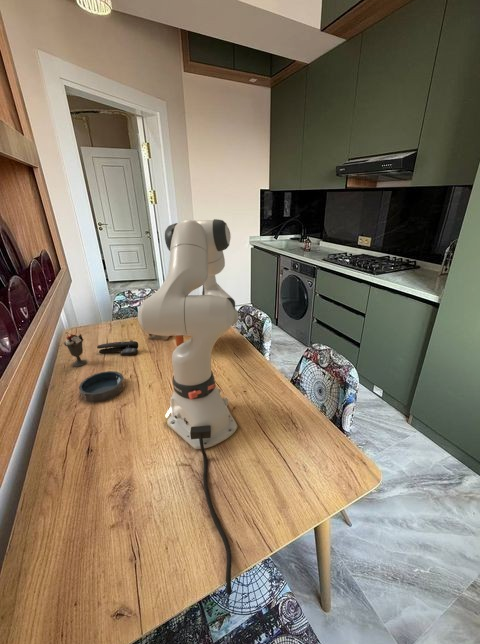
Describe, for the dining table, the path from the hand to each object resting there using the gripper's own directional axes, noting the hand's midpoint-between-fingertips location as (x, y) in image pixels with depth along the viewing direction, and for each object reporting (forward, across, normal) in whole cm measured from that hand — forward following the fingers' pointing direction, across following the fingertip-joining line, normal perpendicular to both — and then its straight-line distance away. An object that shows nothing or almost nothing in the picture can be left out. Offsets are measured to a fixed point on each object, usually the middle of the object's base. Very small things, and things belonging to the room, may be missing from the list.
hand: (176, 331), depth 124 cm
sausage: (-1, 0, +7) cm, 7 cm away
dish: (+32, +10, +10) cm, 35 cm away
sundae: (+36, -15, +10) cm, 40 cm away
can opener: (+21, -15, +10) cm, 28 cm away
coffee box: (+1, -20, +10) cm, 23 cm away
